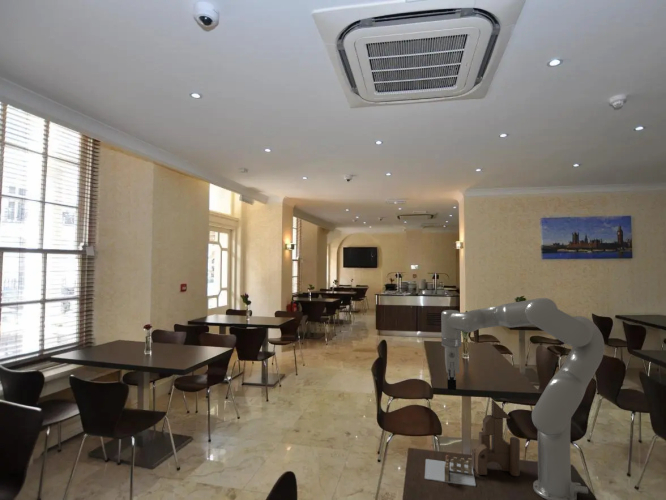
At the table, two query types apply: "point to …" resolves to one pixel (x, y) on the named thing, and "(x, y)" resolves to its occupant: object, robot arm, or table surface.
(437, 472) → the card
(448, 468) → the beige stepped wooden piece
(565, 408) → the robot arm
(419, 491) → the table surface
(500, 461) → the wooden toy
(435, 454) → the table surface
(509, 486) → the table surface
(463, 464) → the fence fixed
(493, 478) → the table surface
